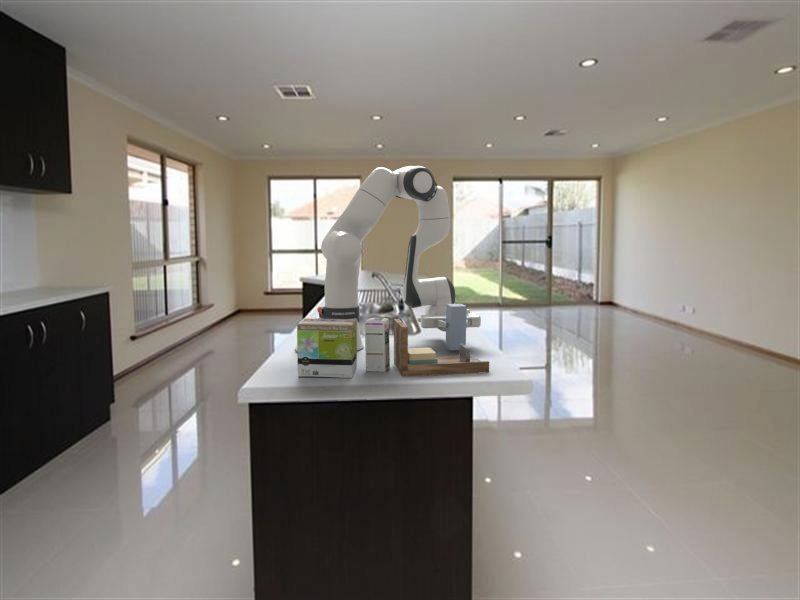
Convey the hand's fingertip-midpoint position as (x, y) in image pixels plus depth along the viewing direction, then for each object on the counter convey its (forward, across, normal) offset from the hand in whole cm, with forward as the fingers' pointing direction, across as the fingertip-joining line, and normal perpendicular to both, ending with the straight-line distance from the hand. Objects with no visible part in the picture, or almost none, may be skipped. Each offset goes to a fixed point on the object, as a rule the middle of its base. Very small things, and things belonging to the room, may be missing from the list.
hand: (456, 325), depth 172 cm
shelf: (+19, -10, +9) cm, 23 cm away
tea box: (+19, -42, +10) cm, 47 cm away
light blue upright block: (0, 0, +8) cm, 8 cm away
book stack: (+19, -16, +8) cm, 26 cm away
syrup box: (+17, -28, +10) cm, 34 cm away
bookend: (+20, -1, +7) cm, 21 cm away
